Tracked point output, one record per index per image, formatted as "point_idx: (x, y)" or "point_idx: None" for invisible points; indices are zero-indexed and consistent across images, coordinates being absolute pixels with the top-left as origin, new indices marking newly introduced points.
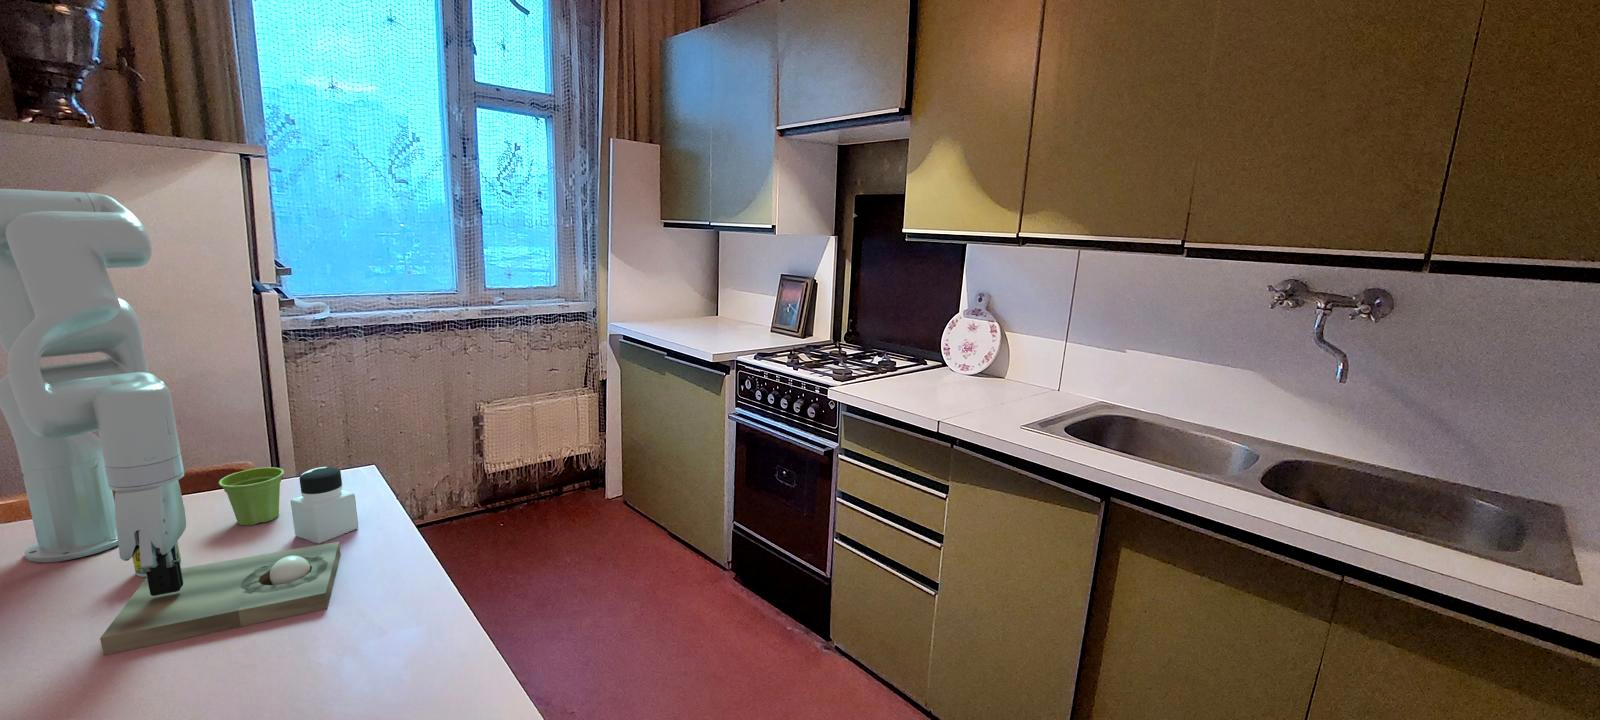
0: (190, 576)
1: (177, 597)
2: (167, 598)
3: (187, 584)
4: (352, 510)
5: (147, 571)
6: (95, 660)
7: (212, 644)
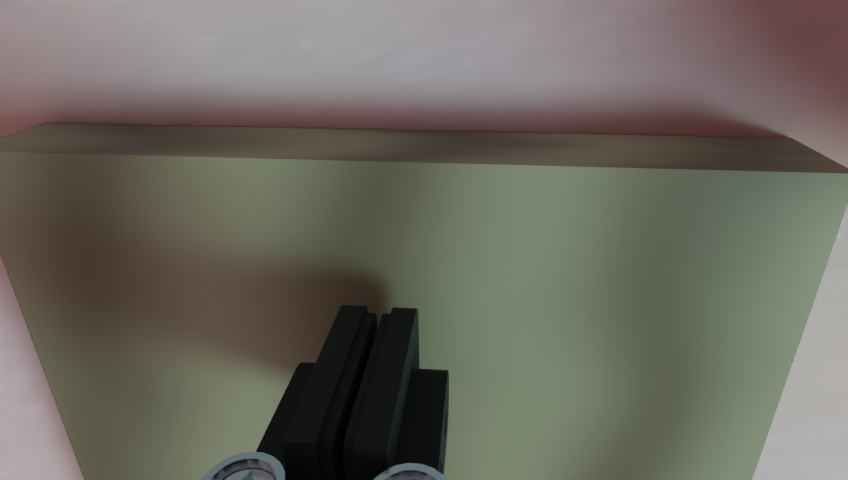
0: (614, 397)
1: None
2: None
3: (495, 400)
4: None
5: (228, 466)
6: (9, 101)
7: (57, 449)
